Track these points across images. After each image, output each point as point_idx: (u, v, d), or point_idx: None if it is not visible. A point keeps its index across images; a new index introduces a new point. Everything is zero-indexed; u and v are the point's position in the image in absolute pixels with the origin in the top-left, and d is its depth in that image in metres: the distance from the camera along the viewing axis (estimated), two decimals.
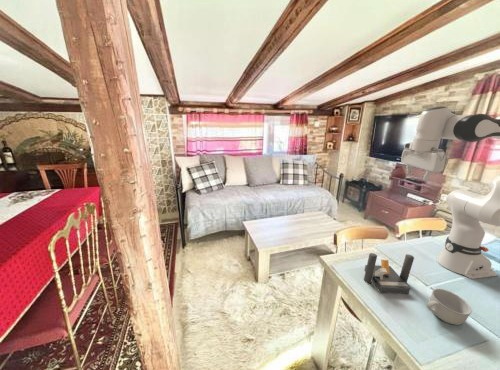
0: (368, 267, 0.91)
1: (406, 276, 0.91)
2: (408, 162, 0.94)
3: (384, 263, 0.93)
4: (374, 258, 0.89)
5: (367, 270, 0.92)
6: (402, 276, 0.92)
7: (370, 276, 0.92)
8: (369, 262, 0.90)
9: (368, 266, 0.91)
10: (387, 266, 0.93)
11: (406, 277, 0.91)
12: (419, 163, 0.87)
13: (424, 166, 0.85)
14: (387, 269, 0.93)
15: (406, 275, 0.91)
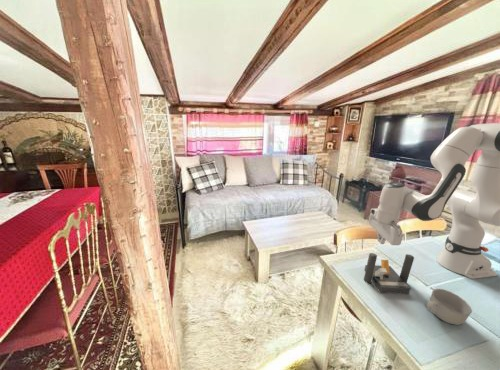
0: (368, 267, 0.91)
1: (406, 276, 0.91)
2: (374, 226, 1.00)
3: (384, 263, 0.93)
4: (374, 258, 0.89)
5: (367, 270, 0.92)
6: (402, 276, 0.92)
7: (370, 276, 0.92)
8: (369, 262, 0.90)
9: (368, 266, 0.91)
10: (387, 266, 0.93)
11: (406, 277, 0.91)
12: (382, 231, 0.93)
13: (385, 236, 0.91)
14: (387, 269, 0.93)
15: (406, 275, 0.91)
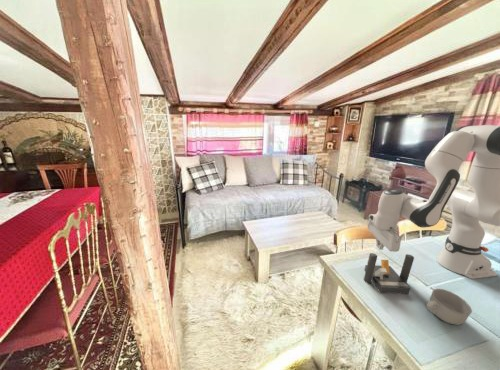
0: (368, 267, 0.91)
1: (406, 276, 0.91)
2: (372, 232, 1.01)
3: (384, 263, 0.93)
4: (375, 258, 0.89)
5: (367, 270, 0.92)
6: (402, 276, 0.92)
7: (370, 276, 0.91)
8: (369, 262, 0.90)
9: (368, 266, 0.91)
10: (387, 266, 0.93)
11: (406, 277, 0.91)
12: (381, 237, 0.94)
13: (384, 242, 0.92)
14: (387, 269, 0.93)
15: (406, 275, 0.91)
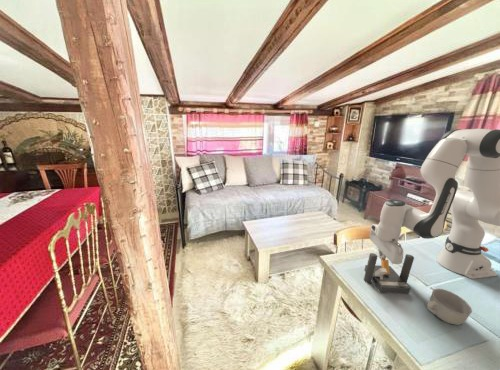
0: (368, 267, 0.91)
1: (406, 276, 0.91)
2: (375, 242, 0.99)
3: (384, 263, 0.93)
4: (375, 258, 0.89)
5: (367, 270, 0.92)
6: (402, 276, 0.92)
7: (370, 276, 0.91)
8: (369, 262, 0.90)
9: (368, 266, 0.91)
10: (387, 266, 0.93)
11: (406, 277, 0.91)
12: (383, 249, 0.92)
13: (386, 254, 0.90)
14: (387, 269, 0.93)
15: (406, 275, 0.91)
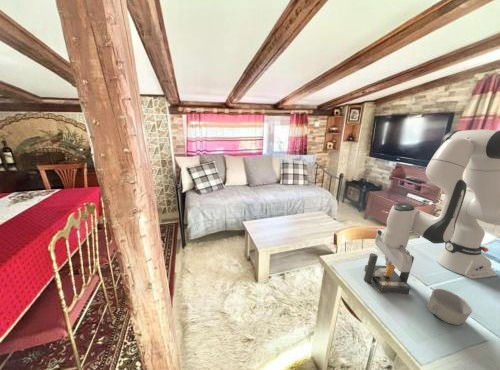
0: (368, 267, 0.91)
1: (406, 276, 0.91)
2: (381, 248, 0.94)
3: (389, 269, 0.90)
4: (375, 259, 0.88)
5: (367, 270, 0.92)
6: (402, 276, 0.92)
7: (370, 276, 0.91)
8: (369, 262, 0.90)
9: (368, 266, 0.91)
10: (391, 271, 0.90)
11: (406, 277, 0.91)
12: (389, 255, 0.87)
13: (393, 261, 0.85)
14: (390, 273, 0.91)
15: (406, 275, 0.91)
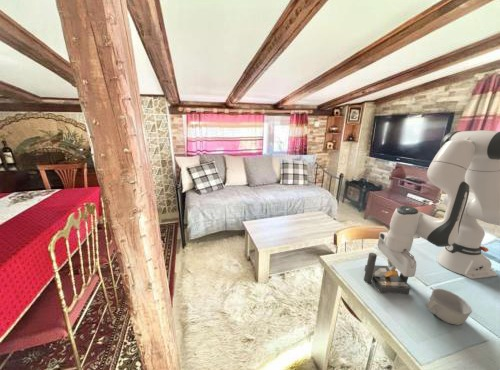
0: (368, 267, 0.91)
1: None
2: (383, 252, 0.92)
3: (391, 275, 0.88)
4: (374, 258, 0.89)
5: (367, 270, 0.92)
6: (402, 276, 0.92)
7: (370, 275, 0.92)
8: (369, 261, 0.91)
9: (368, 266, 0.91)
10: (393, 275, 0.89)
11: (406, 277, 0.91)
12: (393, 259, 0.85)
13: (397, 266, 0.83)
14: (391, 276, 0.90)
15: None
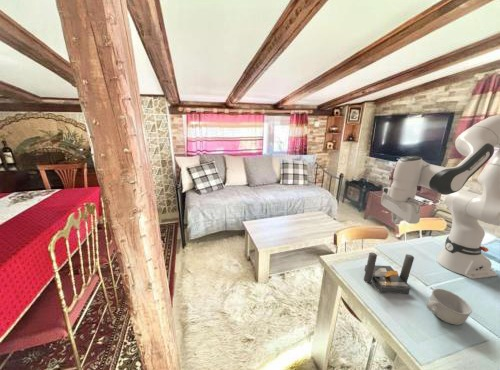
0: (368, 266, 0.91)
1: (406, 276, 0.91)
2: (387, 206, 0.93)
3: (391, 275, 0.88)
4: (374, 258, 0.89)
5: (367, 269, 0.92)
6: (402, 276, 0.92)
7: (370, 275, 0.92)
8: (369, 261, 0.91)
9: (368, 265, 0.91)
10: (393, 275, 0.89)
11: (406, 277, 0.91)
12: (397, 210, 0.86)
13: (401, 215, 0.84)
14: (391, 276, 0.90)
15: (406, 275, 0.91)
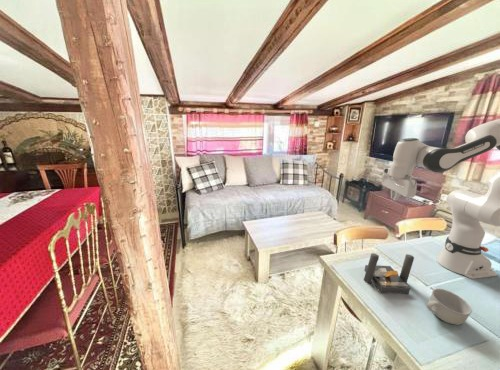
0: (369, 267, 0.91)
1: (406, 276, 0.91)
2: (387, 185, 1.03)
3: (391, 275, 0.88)
4: (376, 259, 0.88)
5: (368, 270, 0.92)
6: (402, 276, 0.92)
7: (370, 276, 0.91)
8: (370, 262, 0.90)
9: (369, 266, 0.91)
10: (393, 275, 0.89)
11: (406, 277, 0.91)
12: (396, 187, 0.96)
13: (399, 191, 0.94)
14: (391, 276, 0.90)
15: (406, 275, 0.91)
